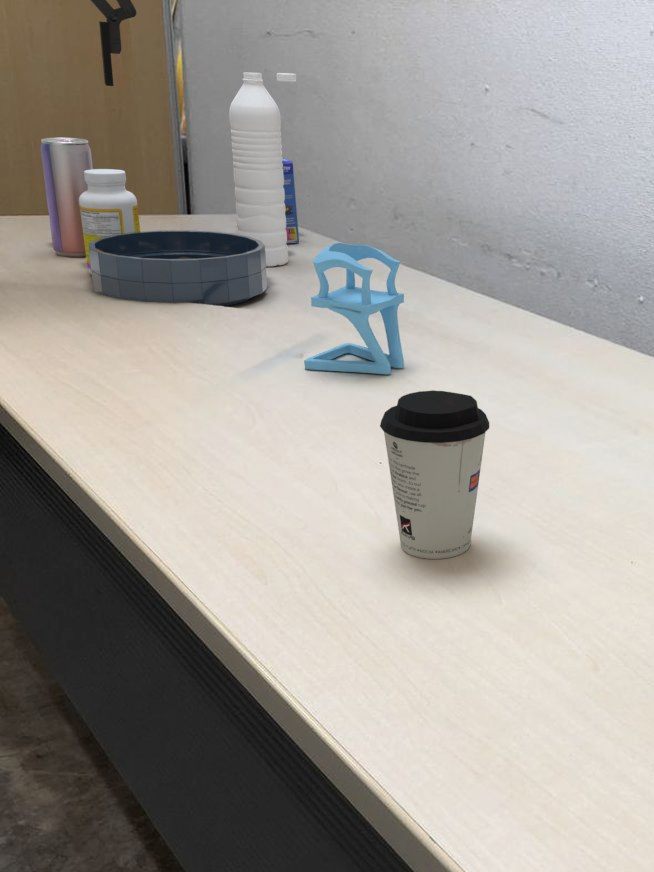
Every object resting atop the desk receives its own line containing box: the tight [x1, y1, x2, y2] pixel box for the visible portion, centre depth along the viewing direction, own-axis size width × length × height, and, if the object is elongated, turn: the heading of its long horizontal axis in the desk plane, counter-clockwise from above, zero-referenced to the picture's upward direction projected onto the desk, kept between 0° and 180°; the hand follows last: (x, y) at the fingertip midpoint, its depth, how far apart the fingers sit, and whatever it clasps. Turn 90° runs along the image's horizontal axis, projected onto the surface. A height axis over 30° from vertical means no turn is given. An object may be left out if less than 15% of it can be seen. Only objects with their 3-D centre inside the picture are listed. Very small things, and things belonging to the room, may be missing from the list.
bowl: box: [88, 229, 268, 307], centre depth 135 cm, size 19×19×6 cm
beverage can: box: [40, 137, 94, 258], centre depth 151 cm, size 6×6×15 cm
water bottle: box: [228, 71, 297, 268], centre depth 151 cm, size 9×6×25 cm
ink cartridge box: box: [282, 157, 300, 245], centre depth 169 cm, size 10×6×14 cm, turn 40°
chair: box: [303, 242, 405, 375], centre depth 110 cm, size 8×8×12 cm
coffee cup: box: [379, 390, 490, 560], centre depth 73 cm, size 7×7×10 cm
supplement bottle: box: [79, 168, 141, 276], centre depth 141 cm, size 7×7×13 cm
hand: (40, 81), depth 122 cm, fingers open, 13 cm apart
